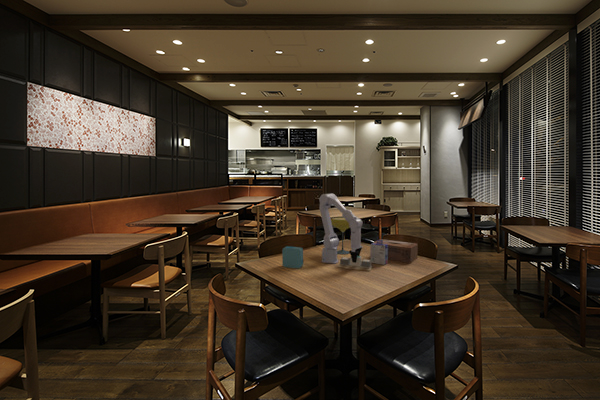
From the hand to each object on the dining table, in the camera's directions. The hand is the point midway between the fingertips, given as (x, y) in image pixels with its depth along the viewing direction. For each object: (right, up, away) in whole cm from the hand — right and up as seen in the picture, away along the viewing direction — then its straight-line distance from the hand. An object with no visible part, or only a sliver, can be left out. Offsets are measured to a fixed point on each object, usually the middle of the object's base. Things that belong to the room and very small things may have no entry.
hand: (355, 260), depth 186 cm
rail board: (0, -4, 0) cm, 4 cm away
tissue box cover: (+30, -3, +21) cm, 37 cm away
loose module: (0, -2, 0) cm, 2 cm away
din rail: (0, -4, 0) cm, 4 cm away
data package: (-38, -4, +2) cm, 39 cm away
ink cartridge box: (+16, -3, +9) cm, 19 cm away
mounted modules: (0, -2, 0) cm, 2 cm away
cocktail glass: (-3, -1, +35) cm, 35 cm away
